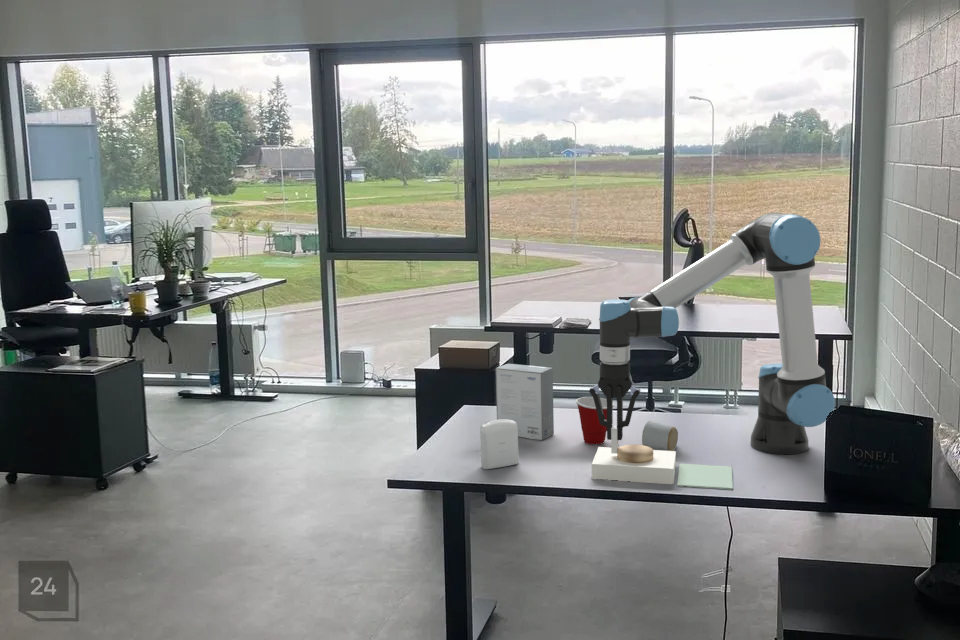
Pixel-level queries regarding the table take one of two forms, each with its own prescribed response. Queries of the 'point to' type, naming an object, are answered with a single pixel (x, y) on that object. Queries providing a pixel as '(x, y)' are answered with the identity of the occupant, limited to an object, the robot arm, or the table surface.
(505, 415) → the hard drive box
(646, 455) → the cork coaster
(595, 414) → the plastic cup
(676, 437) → the ceramic mug
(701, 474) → the sage mat
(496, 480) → the table surface
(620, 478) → the block
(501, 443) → the photo printer
